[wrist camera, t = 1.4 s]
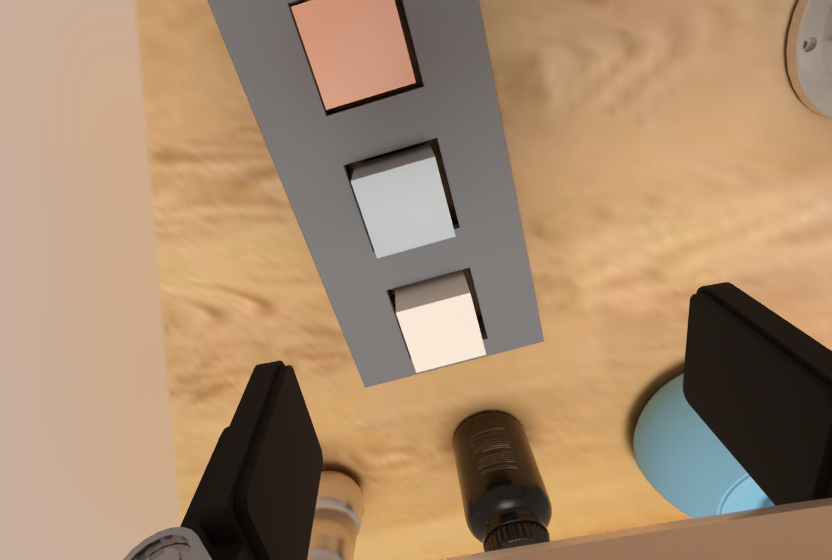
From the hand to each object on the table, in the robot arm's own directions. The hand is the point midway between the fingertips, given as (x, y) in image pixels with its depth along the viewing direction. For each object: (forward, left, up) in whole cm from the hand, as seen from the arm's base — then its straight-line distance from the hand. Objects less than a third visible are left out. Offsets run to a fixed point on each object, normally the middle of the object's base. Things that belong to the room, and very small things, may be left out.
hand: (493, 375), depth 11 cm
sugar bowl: (-19, +31, -25) cm, 44 cm away
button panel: (+2, +1, -25) cm, 25 cm away
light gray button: (+2, +1, -23) cm, 23 cm away
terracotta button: (+2, -8, -23) cm, 24 cm away
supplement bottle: (+1, +27, -25) cm, 37 cm away
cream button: (+2, +10, -23) cm, 25 cm away
